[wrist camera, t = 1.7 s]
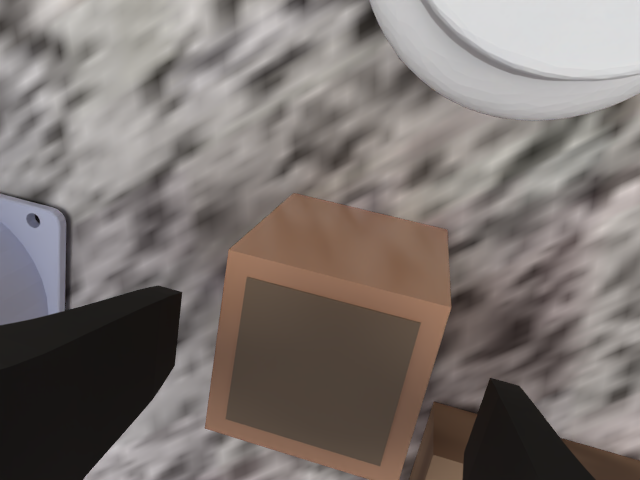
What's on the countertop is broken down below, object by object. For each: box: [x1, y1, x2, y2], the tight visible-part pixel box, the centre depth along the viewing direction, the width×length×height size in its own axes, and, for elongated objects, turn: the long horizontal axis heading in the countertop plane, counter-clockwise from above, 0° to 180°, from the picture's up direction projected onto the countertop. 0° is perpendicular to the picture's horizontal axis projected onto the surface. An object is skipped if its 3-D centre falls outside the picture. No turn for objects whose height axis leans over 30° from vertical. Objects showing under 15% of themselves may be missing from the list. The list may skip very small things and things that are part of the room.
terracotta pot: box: [205, 193, 451, 480], centre depth 14 cm, size 5×5×6 cm
